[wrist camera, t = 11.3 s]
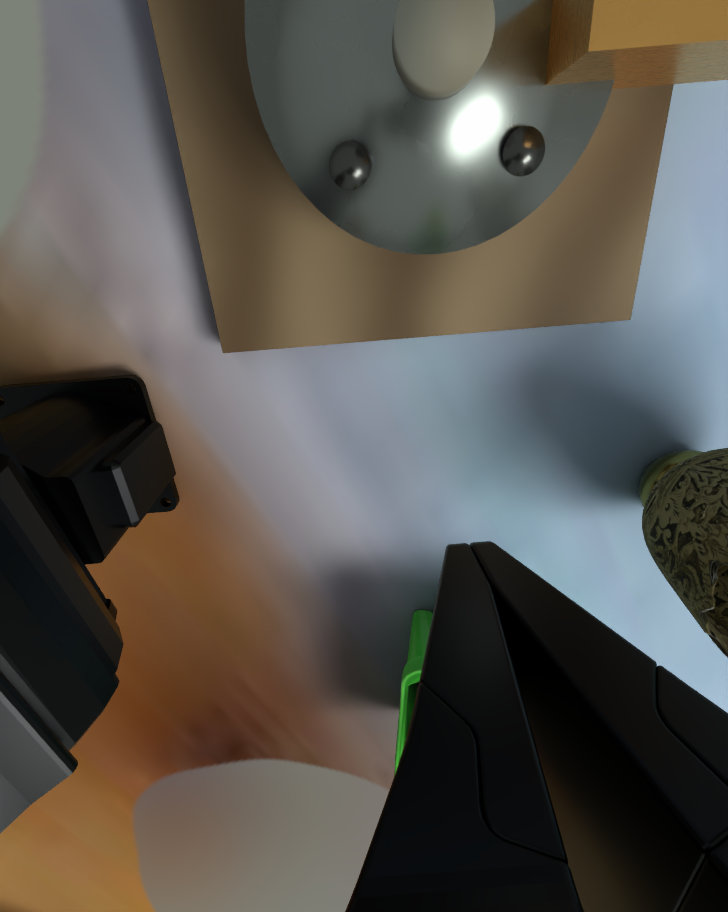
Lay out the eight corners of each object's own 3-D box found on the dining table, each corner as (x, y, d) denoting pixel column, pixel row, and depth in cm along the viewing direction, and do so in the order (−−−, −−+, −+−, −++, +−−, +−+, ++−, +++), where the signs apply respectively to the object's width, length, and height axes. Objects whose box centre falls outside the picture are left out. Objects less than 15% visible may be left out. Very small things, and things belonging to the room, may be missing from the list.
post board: (229, 347, 18) (193, 379, 14) (111, -221, 12) (-19, -471, 8) (616, 315, 18) (695, 337, 14) (716, -276, 12) (918, -560, 8)
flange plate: (282, 265, 15) (264, 272, 12) (216, -195, 10) (161, -375, 7) (716, 230, 15) (812, 227, 12) (833, -249, 10) (1037, -454, 7)
